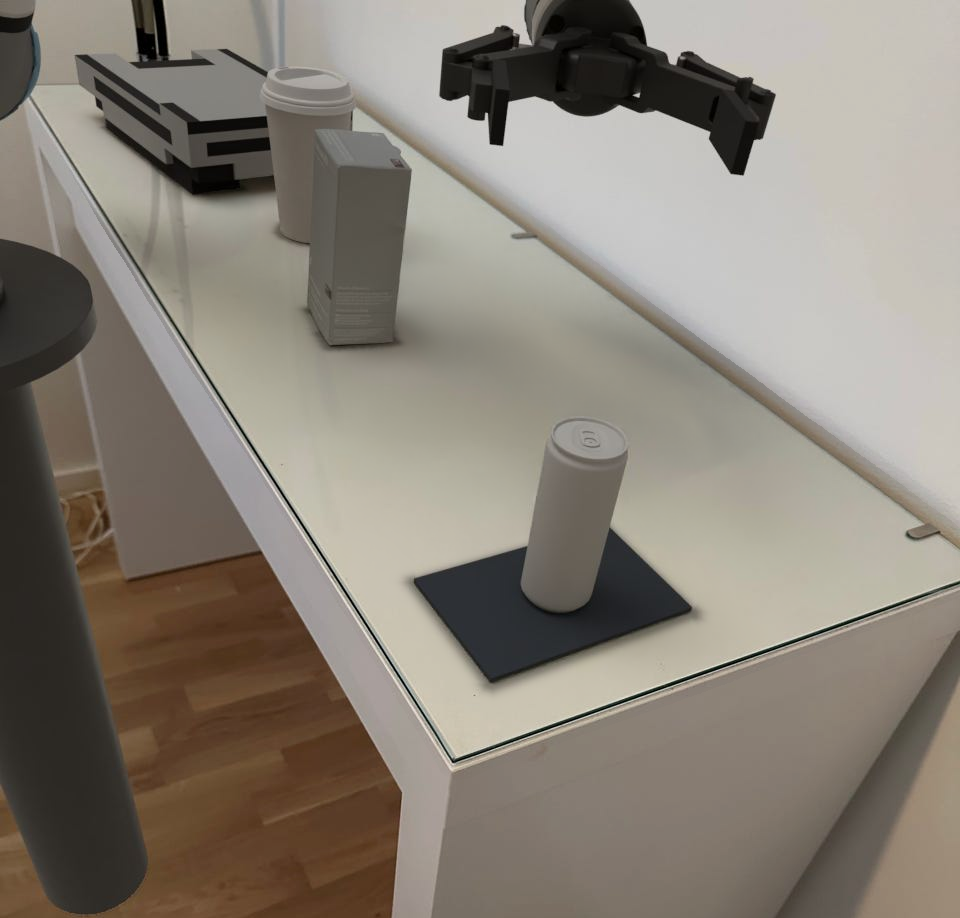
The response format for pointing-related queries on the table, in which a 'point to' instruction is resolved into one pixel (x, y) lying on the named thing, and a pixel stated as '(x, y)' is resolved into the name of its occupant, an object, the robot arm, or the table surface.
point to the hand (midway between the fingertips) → (623, 133)
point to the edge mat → (536, 632)
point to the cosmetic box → (356, 235)
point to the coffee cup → (301, 135)
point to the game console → (187, 114)
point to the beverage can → (573, 512)
